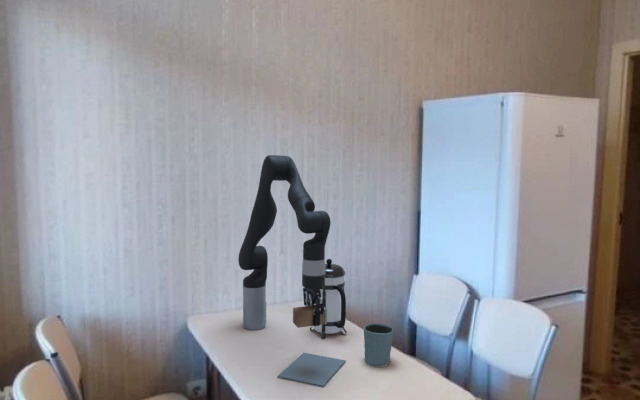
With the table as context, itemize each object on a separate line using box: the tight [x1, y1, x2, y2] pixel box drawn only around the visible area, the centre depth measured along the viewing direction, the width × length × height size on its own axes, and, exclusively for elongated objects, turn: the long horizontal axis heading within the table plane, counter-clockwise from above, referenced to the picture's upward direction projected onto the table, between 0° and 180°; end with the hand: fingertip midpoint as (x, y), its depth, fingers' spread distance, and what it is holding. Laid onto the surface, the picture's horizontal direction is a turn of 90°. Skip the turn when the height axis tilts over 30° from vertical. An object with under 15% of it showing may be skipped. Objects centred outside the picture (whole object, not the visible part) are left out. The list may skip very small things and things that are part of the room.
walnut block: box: [292, 305, 327, 328], centre depth 162 cm, size 5×5×10 cm
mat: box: [276, 352, 346, 388], centre depth 165 cm, size 20×16×1 cm
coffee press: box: [309, 258, 347, 340], centre depth 195 cm, size 17×16×30 cm
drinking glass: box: [363, 322, 394, 368], centre depth 171 cm, size 10×10×12 cm
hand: (313, 322), depth 163 cm, fingers closed on walnut block, 5 cm apart
